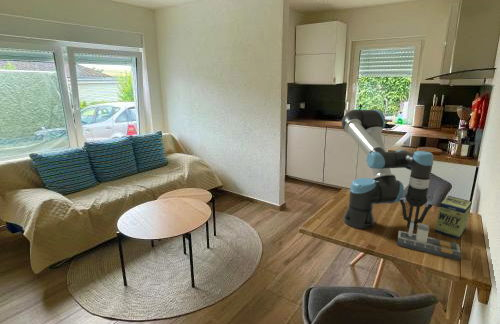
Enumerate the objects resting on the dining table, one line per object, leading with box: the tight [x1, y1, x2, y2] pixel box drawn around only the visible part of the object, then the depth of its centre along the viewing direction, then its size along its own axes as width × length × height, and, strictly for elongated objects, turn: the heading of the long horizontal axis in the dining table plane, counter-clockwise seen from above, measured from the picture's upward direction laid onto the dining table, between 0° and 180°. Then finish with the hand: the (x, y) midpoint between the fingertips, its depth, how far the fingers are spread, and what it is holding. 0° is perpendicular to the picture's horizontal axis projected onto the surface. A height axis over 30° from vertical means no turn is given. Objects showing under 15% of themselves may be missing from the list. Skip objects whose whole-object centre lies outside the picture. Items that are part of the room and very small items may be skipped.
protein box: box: [434, 195, 473, 240], centre depth 146 cm, size 10×16×16 cm
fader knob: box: [415, 223, 430, 243], centre depth 134 cm, size 4×5×7 cm
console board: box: [396, 229, 462, 262], centre depth 134 cm, size 24×12×3 cm, turn 62°
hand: (410, 234), depth 136 cm, fingers closed
